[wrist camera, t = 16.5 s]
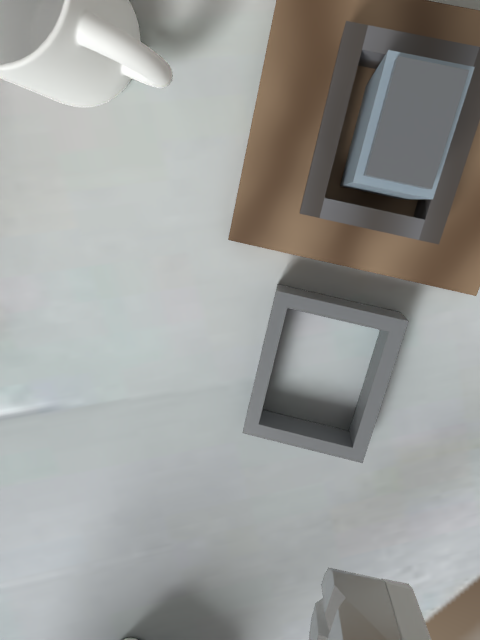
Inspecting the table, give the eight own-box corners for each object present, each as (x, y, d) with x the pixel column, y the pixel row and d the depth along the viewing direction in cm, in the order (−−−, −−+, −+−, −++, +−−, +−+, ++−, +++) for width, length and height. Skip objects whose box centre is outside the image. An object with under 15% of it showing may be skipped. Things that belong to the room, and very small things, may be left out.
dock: (231, 238, 33) (221, 243, 29) (282, -16, 29) (280, -54, 24) (468, 291, 32) (494, 306, 28) (558, 37, 28) (607, 7, 23)
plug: (339, 186, 30) (355, 181, 22) (365, 86, 28) (391, 44, 21) (400, 199, 30) (437, 199, 22) (430, 99, 28) (481, 61, 20)
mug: (215, 35, 30) (175, -46, 20) (164, 156, 32) (105, 137, 22) (50, -52, 30) (-73, -177, 20) (10, 76, 32) (-117, 21, 22)
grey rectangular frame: (245, 417, 36) (242, 433, 34) (277, 284, 34) (276, 290, 31) (358, 445, 36) (362, 463, 34) (400, 312, 33) (408, 321, 31)
